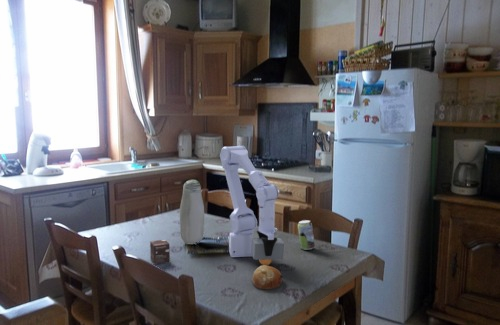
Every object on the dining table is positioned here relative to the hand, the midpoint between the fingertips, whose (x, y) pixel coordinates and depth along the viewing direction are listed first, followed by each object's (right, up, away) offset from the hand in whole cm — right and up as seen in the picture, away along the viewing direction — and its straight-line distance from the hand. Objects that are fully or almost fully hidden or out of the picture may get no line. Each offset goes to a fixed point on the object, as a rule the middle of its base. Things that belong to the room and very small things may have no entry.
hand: (266, 252), depth 153 cm
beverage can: (+17, -3, +19) cm, 26 cm away
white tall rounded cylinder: (-31, -2, +23) cm, 39 cm away
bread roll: (0, -7, -15) cm, 17 cm away
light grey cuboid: (0, -2, 0) cm, 2 cm away
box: (-41, -4, +3) cm, 41 cm away
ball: (0, -2, 0) cm, 2 cm away
